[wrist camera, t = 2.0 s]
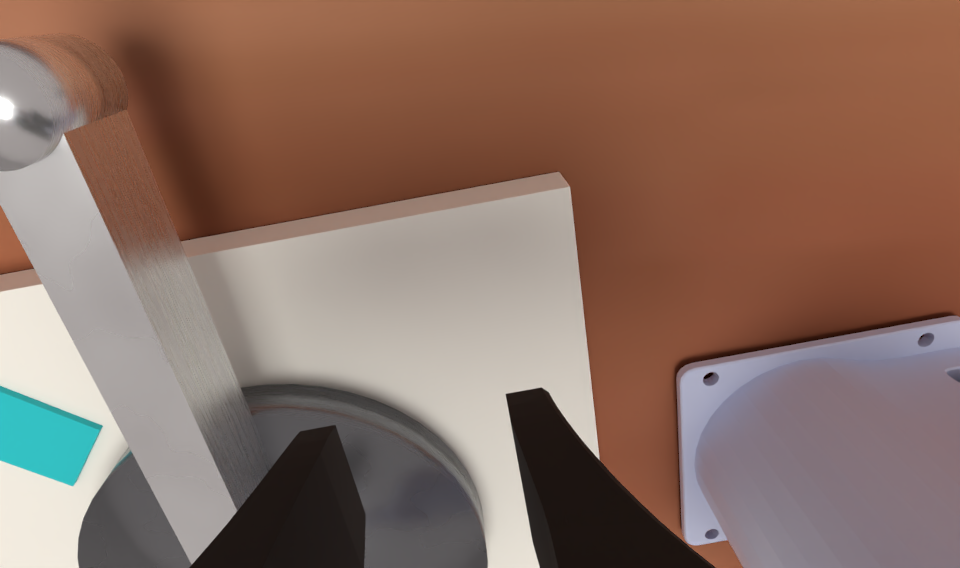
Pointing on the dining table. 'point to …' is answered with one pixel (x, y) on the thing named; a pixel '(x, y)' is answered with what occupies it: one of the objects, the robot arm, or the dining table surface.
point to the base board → (331, 346)
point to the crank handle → (184, 345)
